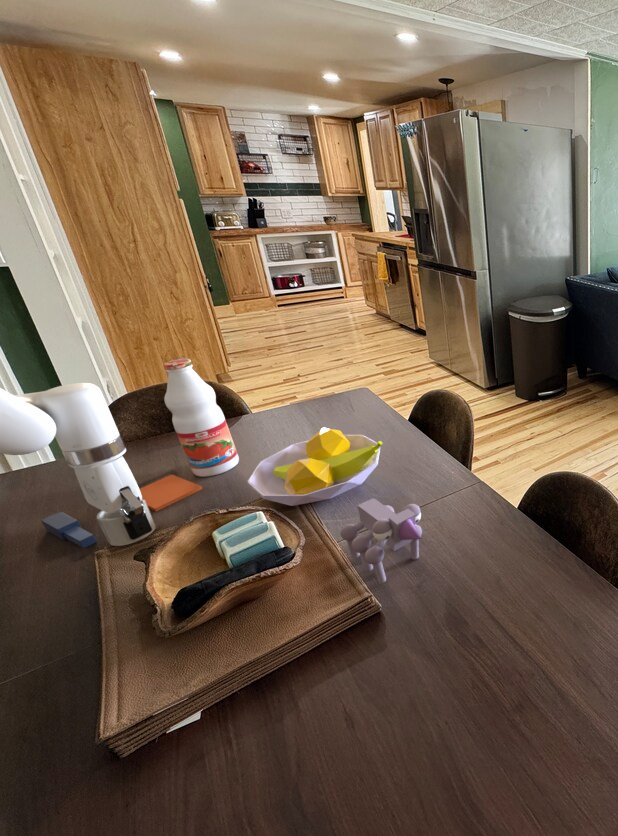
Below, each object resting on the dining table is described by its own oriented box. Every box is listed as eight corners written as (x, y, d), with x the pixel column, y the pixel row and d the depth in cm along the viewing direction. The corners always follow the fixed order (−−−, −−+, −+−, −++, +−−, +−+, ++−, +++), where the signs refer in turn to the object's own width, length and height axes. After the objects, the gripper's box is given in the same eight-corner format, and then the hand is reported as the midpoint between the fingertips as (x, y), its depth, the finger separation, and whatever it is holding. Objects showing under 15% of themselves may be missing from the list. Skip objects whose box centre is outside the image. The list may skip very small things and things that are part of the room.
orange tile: (156, 511, 102) (154, 508, 101) (126, 498, 106) (124, 495, 106) (202, 488, 109) (201, 486, 109) (172, 477, 114) (171, 474, 113)
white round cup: (120, 550, 89) (108, 524, 86) (101, 540, 91) (89, 514, 89) (163, 528, 94) (152, 503, 92) (144, 519, 97) (133, 495, 95)
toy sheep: (455, 573, 85) (445, 511, 80) (401, 612, 77) (386, 547, 72) (394, 528, 96) (382, 472, 91) (341, 558, 88) (325, 498, 83)
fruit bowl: (227, 506, 103) (210, 462, 99) (329, 446, 127) (319, 408, 122) (326, 534, 95) (312, 486, 90) (415, 464, 118) (408, 424, 114)
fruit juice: (241, 453, 124) (205, 352, 113) (238, 470, 116) (199, 364, 105) (196, 463, 119) (154, 359, 108) (190, 482, 112) (144, 372, 101)
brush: (80, 550, 91) (73, 538, 90) (47, 531, 96) (40, 520, 95) (100, 540, 93) (94, 528, 92) (66, 522, 98) (60, 511, 97)
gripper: (43, 449, 86) (83, 529, 93) (92, 471, 79) (131, 555, 86) (97, 432, 92) (131, 508, 99) (146, 450, 86) (179, 530, 92)
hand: (130, 529), depth 92 cm, fingers closed on white round cup, 6 cm apart
